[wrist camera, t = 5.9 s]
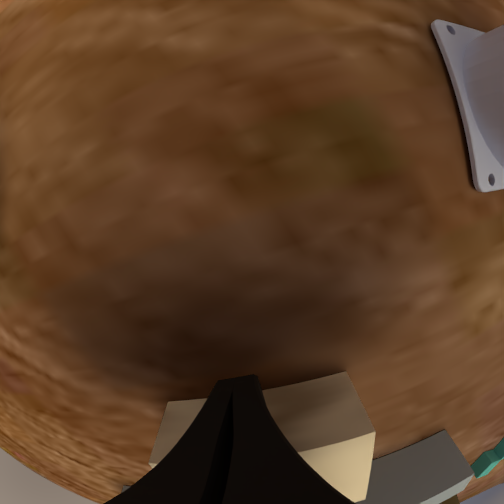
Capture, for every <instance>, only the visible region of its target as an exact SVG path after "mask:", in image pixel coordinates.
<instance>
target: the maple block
mask: <svg viewBox="0 0 504 504" xmlns="http://www.w3.org/2000/svg"><path fill="white" fill-rule="evenodd" d="M262 392H263V396H264V399H265V402H266V405H267V408H268V410H269V412H270V414H271V416H272V417H273V419H274V421H275V422H276V424H277V426H278V427H279V429H280V430H281V432H282V433H283V434H284V436H285V437H286V439H287V440H288V441H289V443H290V444H291V445H292V446H293V448H294V449H295V450H296V451H297V452H298V454H299V455H300V456H301V457H302V458H303V459H304V460H305V461H306V462H307V463H308V464H309V465H310V466H311V467H312V468H313V469H314V470H315V471H316V472H317V473H318V474H319V475H320V476H321V477H322V478H323V479H324V480H326V481H327V482H328V483H329V484H330V485H331V486H333V487H334V488H335V489H336V490H338V491H339V492H340V493H341V494H343V495H344V496H346V497H347V498H348V499H350V500H351V501H353V502H354V503H355V502H358V501H361V500H365V499H366V494H367V488H368V483H369V477H370V471H371V464H372V457H373V449H374V441H375V432H376V431H375V429H374V427H373V425H372V423H371V421H370V419H369V417H368V415H367V412H366V410H365V408H364V406H363V404H362V402H361V400H360V398H359V396H358V394H357V392H356V390H355V388H354V386H353V384H352V382H351V380H350V378H349V376H348V374H347V372H346V371H345V372H341V373H337V374H334V375H330V376H326V377H322V378H318V379H314V380H310V381H305V382H301V383H296V384H292V385H287V386H282V387H277V388H272V389H266V390H262ZM206 400H207V398H204V399H194V400H183V401H169V402H168V403H167V406H166V409H165V412H164V415H163V418H162V422H161V425H160V428H159V431H158V434H157V437H156V441H155V444H154V447H153V450H152V454H151V457H150V460H149V465H150V466H151V467H152V468H154V467H155V466H156V465H157V464H158V463H159V462H160V461H161V460H162V459H163V458H164V457H165V456H166V455H167V454H168V453H169V452H170V451H171V449H172V448H173V447H174V446H175V445H176V443H177V442H178V441H179V440H180V438H181V437H182V436H183V434H184V433H185V432H186V430H187V429H188V428H189V426H190V425H191V423H192V422H193V420H194V419H195V417H196V416H197V414H198V413H199V411H200V410H201V408H202V407H203V405H204V403H205V402H206Z"/></svg>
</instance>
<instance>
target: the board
mask: <svg viewBox="0 0 504 504" xmlns="http://www.w3.org/2000/svg"><path fill="white" fill-rule="evenodd" d="M474 474H475V473H474V471H473V470H472V468H471V467H470V465H469V464H468V462H467V461H466V459H465V458H464V456H463V455H462V453H461V452H460V450H459V449H458V447H457V446H456V444H455V443H454V441H453V440H452V439H451V437H450V436H449V434H448V433H447V431H446V430H443V431H441V432H439V433H437V434H435V435H433V436H431V437H429V438H426V439H424V440H422V441H420V442H418V443H416V444H413V445H411V446H409V447H406V448H404V449H401V450H399V451H396V452H394V453H391V454H389V455H386V456H383V457H381V458H378V459H375V460H372V464H371V471H370V477H369V483H368V488H367V494H366V499H365V500H361V501H358V502H355V503H356V504H439V503H441V502H443V501H445V500H447V499H449V498H450V497H452V496H454V495H456V494H458V493H459V492H461V491H463V490H464V488H465V487H466V486H467V484H468V483H469V481H470V480H471V478H472V477H473V475H474ZM129 487H131V486H123V489H122V492H124V491H125V490H127V489H128V488H129ZM122 492H121V493H122Z"/></svg>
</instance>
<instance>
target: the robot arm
mask: <svg viewBox="0 0 504 504" xmlns="http://www.w3.org/2000/svg"><path fill="white" fill-rule="evenodd" d="M431 29H432V31H433V33H434V36H435V38H436V40H437V43H438V45H439V48H440V50H441V53H442V55H443V58H444V61H445V64H446V66H447V69H448V72H449V75H450V78H451V81H452V84H453V88H454V91H455V94H456V98H457V101H458V105H459V109H460V113H461V117H462V121H463V125H464V130H465V135H466V139H467V145H468V150H469V156H470V162H471V169H472V176H473V183H474V186H475V188H476V190H478V191H479V192H490V191H495V190H500V189H504V25H501V26H499V27H497V28H495V29H493V30H491V31H489V32H487V33H484V32H481V31H478V30H475V29H472V28H469V27H465V26H462V25H458V24H455V23H451V22H447V21H443V20H435V21H433V22H432V23H431ZM488 177H489V181H488ZM104 504H356V503H354V502H353V501H351V500H350V499H348V498H347V497H346V496H344V495H343V494H341V493H340V492H339V491H338V490H336V489H335V488H334V487H333V486H331V485H330V484H329V483H328V482H327V481H326V480H324V479H323V478H322V477H321V476H320V475H319V474H318V473H317V472H316V471H315V470H314V469H313V468H312V467H311V466H310V465H309V464H308V463H307V462H306V461H305V460H304V459H303V458H302V457H301V456H300V455H299V454H298V452H297V451H296V450H295V449H294V448H293V446H292V445H291V444H290V443H289V441H288V440H287V439H286V437H285V436H284V434H283V433H282V432H281V430H280V429H279V427H278V426H277V424H276V422H275V421H274V419H273V417H272V416H271V414H270V412H269V410H268V408H267V405H266V402H265V399H264V396H263V392H262V389H261V386H260V382H259V379H258V376H256V375H254V374H253V375H248V376H242V377H237V378H231V379H225V380H219V381H218V382H217V383H216V384H215V386H214V388H213V390H212V391H211V393H210V395H209V397H208V398H207V400H206V402H205V403H204V405H203V407H202V408H201V410H200V411H199V413H198V414H197V416H196V417H195V419H194V420H193V422H192V423H191V425H190V426H189V428H188V429H187V430H186V432H185V433H184V434H183V436H182V437H181V438H180V440H179V441H178V442H177V443H176V445H175V446H174V447H173V448H172V449H171V451H170V452H169V453H168V454H167V455H166V456H165V457H164V458H163V459H162V460H161V461H160V462H159V463H158V464H157V465H156V466H155V467H154V468H153V469H152V470H151V471H149V472H148V473H147V474H146V475H145V476H143V477H142V478H141V479H140V480H139V481H137V482H136V483H135V484H134V485H132V486H131V487H129V488H128V489H127V490H125V491H124V492H122V493H121V494H119V495H117V496H116V497H114V498H113V499H111V500H109V501H107V502H106V503H104Z"/></svg>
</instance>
